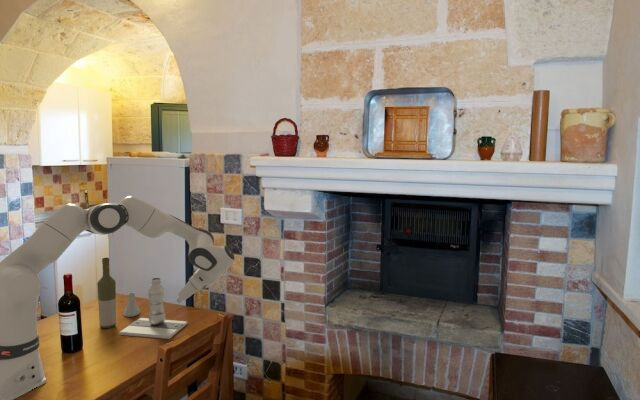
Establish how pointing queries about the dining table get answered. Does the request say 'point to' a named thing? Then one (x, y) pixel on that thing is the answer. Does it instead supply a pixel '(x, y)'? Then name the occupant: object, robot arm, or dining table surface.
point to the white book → (153, 328)
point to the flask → (131, 306)
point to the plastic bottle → (156, 302)
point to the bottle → (107, 297)
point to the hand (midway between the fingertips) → (183, 298)
